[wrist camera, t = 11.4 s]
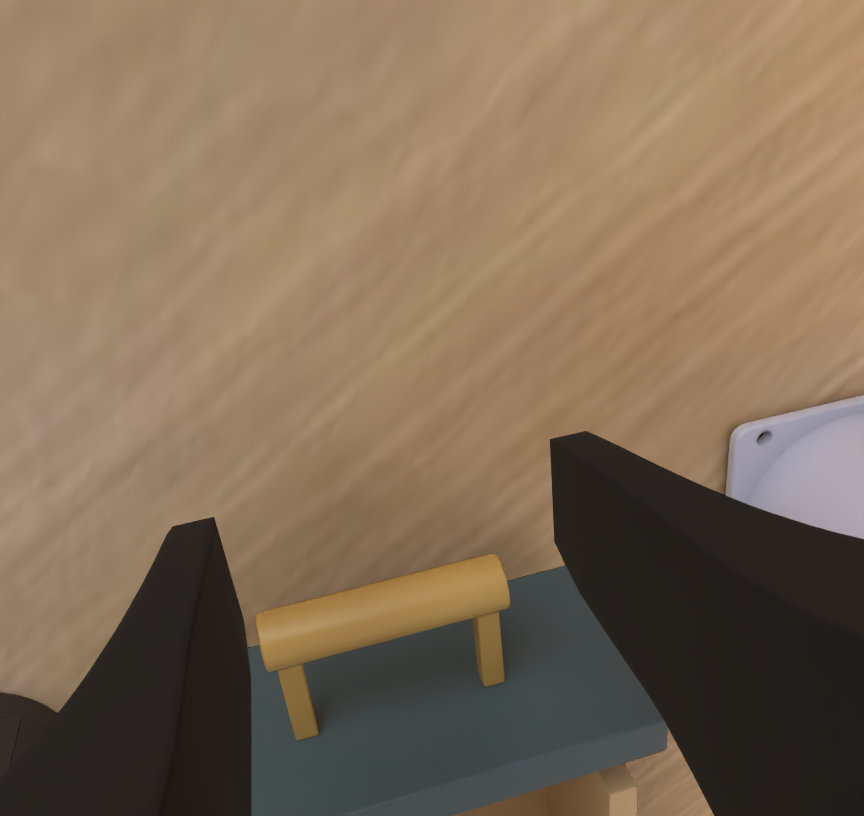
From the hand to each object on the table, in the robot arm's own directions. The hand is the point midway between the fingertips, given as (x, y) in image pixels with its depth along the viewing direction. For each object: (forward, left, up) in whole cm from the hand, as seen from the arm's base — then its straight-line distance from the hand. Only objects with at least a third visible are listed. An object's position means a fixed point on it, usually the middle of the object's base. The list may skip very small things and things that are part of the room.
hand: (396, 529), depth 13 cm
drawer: (0, +14, -8) cm, 16 cm away
